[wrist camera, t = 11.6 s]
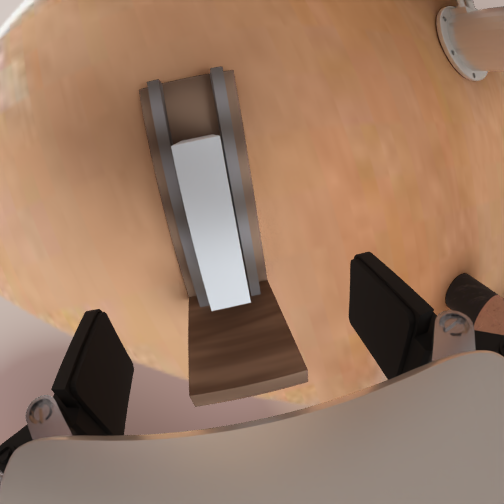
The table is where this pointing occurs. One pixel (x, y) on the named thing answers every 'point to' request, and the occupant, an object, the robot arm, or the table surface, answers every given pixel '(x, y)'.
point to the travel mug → (477, 304)
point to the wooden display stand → (242, 195)
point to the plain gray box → (211, 219)
